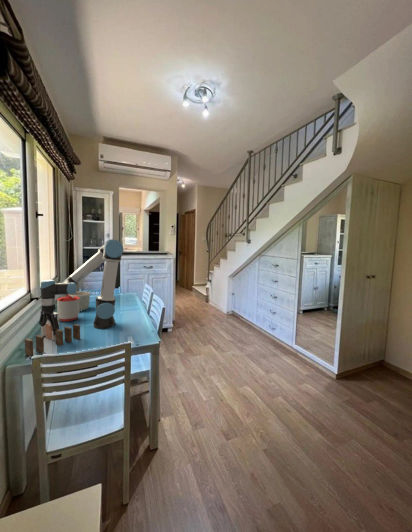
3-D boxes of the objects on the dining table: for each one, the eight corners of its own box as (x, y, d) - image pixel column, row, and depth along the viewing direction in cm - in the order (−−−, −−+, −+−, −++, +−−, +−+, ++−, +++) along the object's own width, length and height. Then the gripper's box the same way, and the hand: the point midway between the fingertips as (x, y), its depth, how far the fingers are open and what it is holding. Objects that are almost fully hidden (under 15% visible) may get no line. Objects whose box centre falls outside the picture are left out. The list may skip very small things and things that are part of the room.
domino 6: (75, 337, 159) (75, 323, 158) (80, 338, 157) (79, 325, 156) (73, 338, 158) (72, 324, 157) (77, 339, 156) (77, 326, 155)
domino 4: (58, 343, 150) (58, 329, 149) (63, 345, 147) (62, 330, 146) (55, 344, 148) (55, 329, 147) (60, 346, 146) (60, 331, 145)
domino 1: (28, 353, 135) (27, 338, 134) (33, 356, 133) (32, 340, 132) (25, 354, 134) (24, 339, 133) (30, 357, 131) (29, 341, 130)
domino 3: (48, 336, 158) (48, 323, 157) (53, 338, 156) (52, 324, 155) (45, 337, 157) (45, 324, 156) (50, 339, 155) (50, 325, 154)
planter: (69, 308, 220) (69, 291, 219) (90, 306, 227) (90, 290, 226) (67, 313, 205) (67, 296, 203) (90, 312, 212) (89, 294, 211)
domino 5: (67, 340, 155) (66, 326, 154) (72, 341, 152) (71, 328, 151) (64, 340, 153) (64, 327, 152) (69, 342, 151) (69, 328, 150)
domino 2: (39, 349, 140) (38, 334, 139) (44, 352, 138) (43, 336, 137) (36, 351, 139) (35, 335, 138) (41, 353, 136) (40, 337, 135)
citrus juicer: (81, 315, 203) (81, 291, 201) (77, 322, 187) (77, 296, 185) (60, 316, 198) (60, 292, 196) (54, 323, 182) (53, 297, 180)
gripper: (31, 302, 156) (32, 335, 159) (53, 308, 145) (54, 344, 148) (44, 300, 163) (45, 331, 165) (65, 306, 152) (66, 339, 154)
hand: (49, 337), depth 156 cm, fingers open, 11 cm apart
